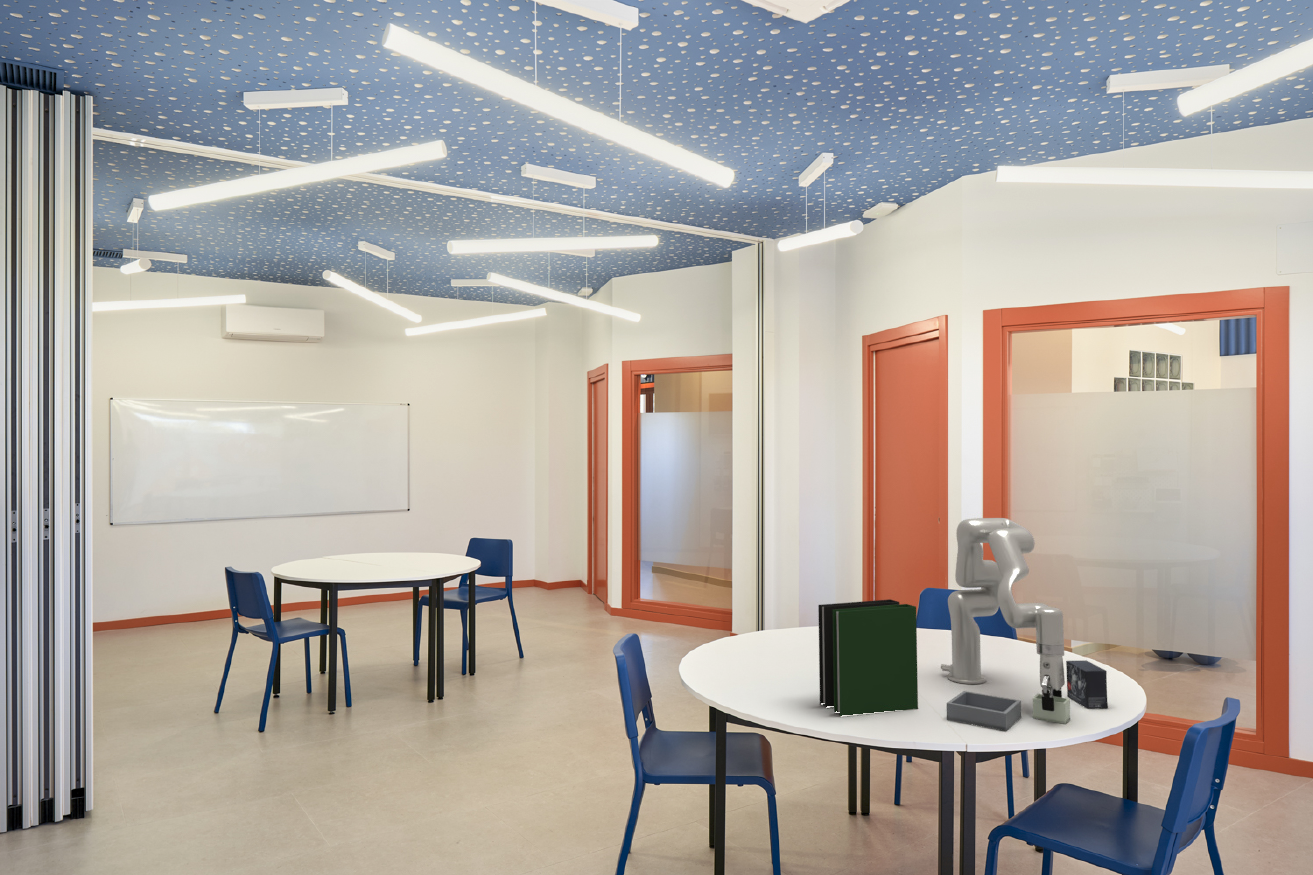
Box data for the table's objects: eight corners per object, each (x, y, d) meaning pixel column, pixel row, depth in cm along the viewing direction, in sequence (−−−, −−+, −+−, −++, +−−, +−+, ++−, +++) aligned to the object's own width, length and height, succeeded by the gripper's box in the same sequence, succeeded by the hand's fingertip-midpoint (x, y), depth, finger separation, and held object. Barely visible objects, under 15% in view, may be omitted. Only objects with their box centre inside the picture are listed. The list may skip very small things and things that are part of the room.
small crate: (1032, 718, 242) (1032, 698, 242) (1038, 713, 246) (1037, 693, 247) (1065, 724, 236) (1065, 703, 236) (1070, 718, 241) (1069, 698, 241)
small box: (1066, 696, 263) (1065, 659, 264) (1087, 696, 263) (1086, 659, 264) (1086, 708, 250) (1085, 670, 251) (1108, 709, 250) (1107, 670, 250)
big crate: (946, 719, 241) (946, 702, 241) (964, 706, 254) (964, 690, 254) (1006, 731, 230) (1005, 713, 231) (1021, 717, 243) (1021, 700, 243)
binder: (841, 717, 244) (839, 612, 245) (817, 703, 258) (816, 604, 259) (918, 708, 252) (916, 606, 253) (890, 695, 266) (889, 598, 267)
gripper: (1056, 656, 233) (1059, 715, 232) (1070, 645, 246) (1072, 702, 245) (1029, 652, 237) (1031, 711, 237) (1044, 642, 251) (1045, 698, 250)
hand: (1052, 706), depth 241 cm, fingers open, 9 cm apart
